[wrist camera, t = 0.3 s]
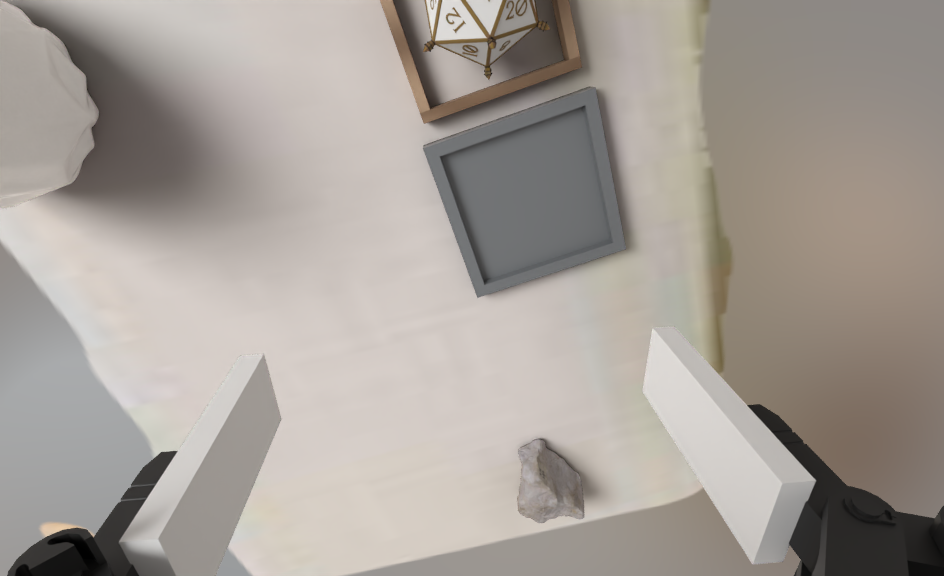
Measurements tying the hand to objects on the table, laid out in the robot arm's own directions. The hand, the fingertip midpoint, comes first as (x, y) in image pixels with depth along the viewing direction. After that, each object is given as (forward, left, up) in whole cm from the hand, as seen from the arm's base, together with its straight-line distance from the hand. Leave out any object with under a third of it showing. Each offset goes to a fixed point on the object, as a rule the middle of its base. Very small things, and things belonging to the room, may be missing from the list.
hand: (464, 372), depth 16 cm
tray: (+3, +7, -26) cm, 27 cm away
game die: (-12, +7, -27) cm, 30 cm away
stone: (+35, 0, -27) cm, 44 cm away
